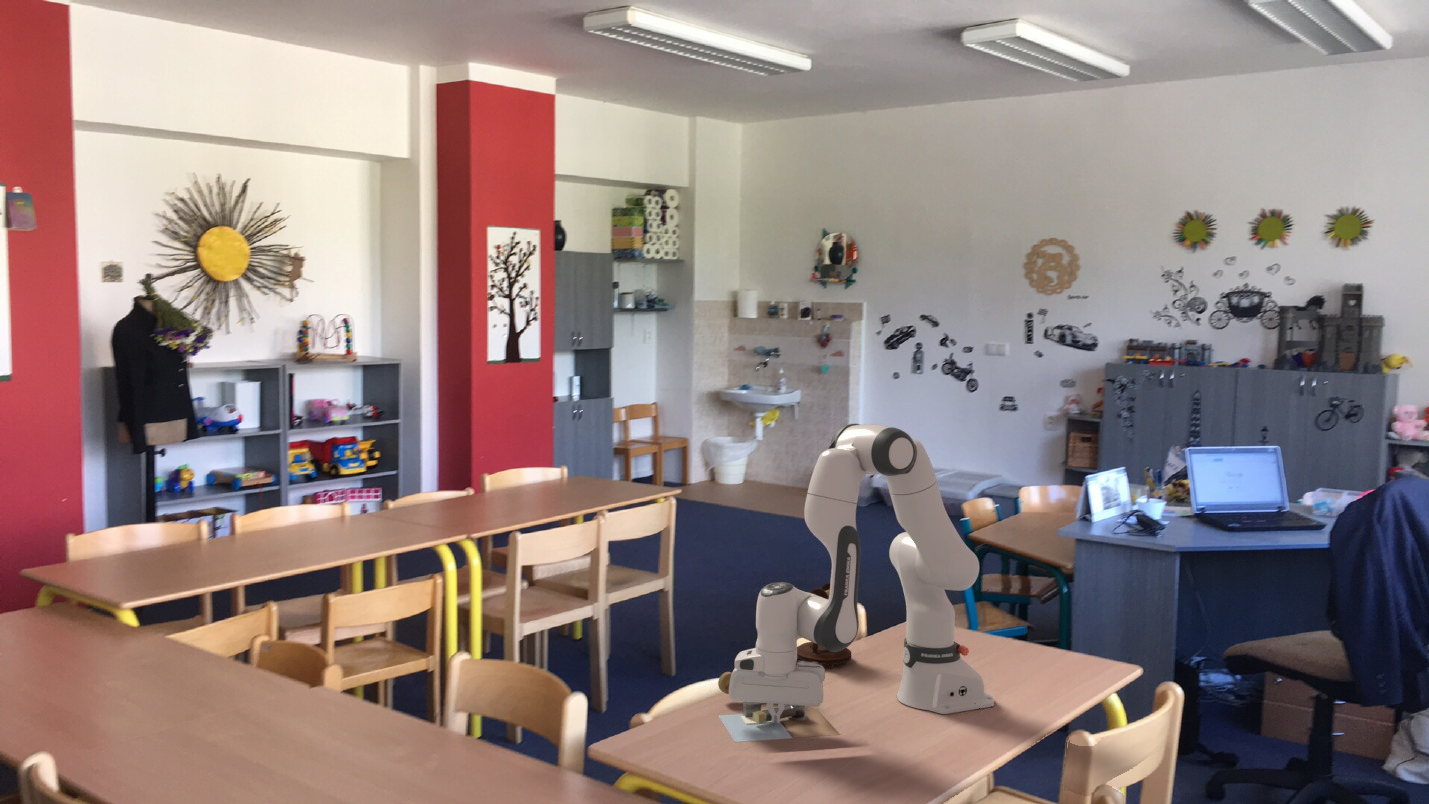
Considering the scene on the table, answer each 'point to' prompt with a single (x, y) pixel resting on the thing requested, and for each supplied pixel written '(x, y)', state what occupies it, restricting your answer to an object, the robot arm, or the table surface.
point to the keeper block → (750, 708)
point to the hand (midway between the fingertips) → (775, 722)
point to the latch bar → (787, 712)
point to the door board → (752, 729)
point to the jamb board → (809, 725)
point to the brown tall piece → (815, 651)
